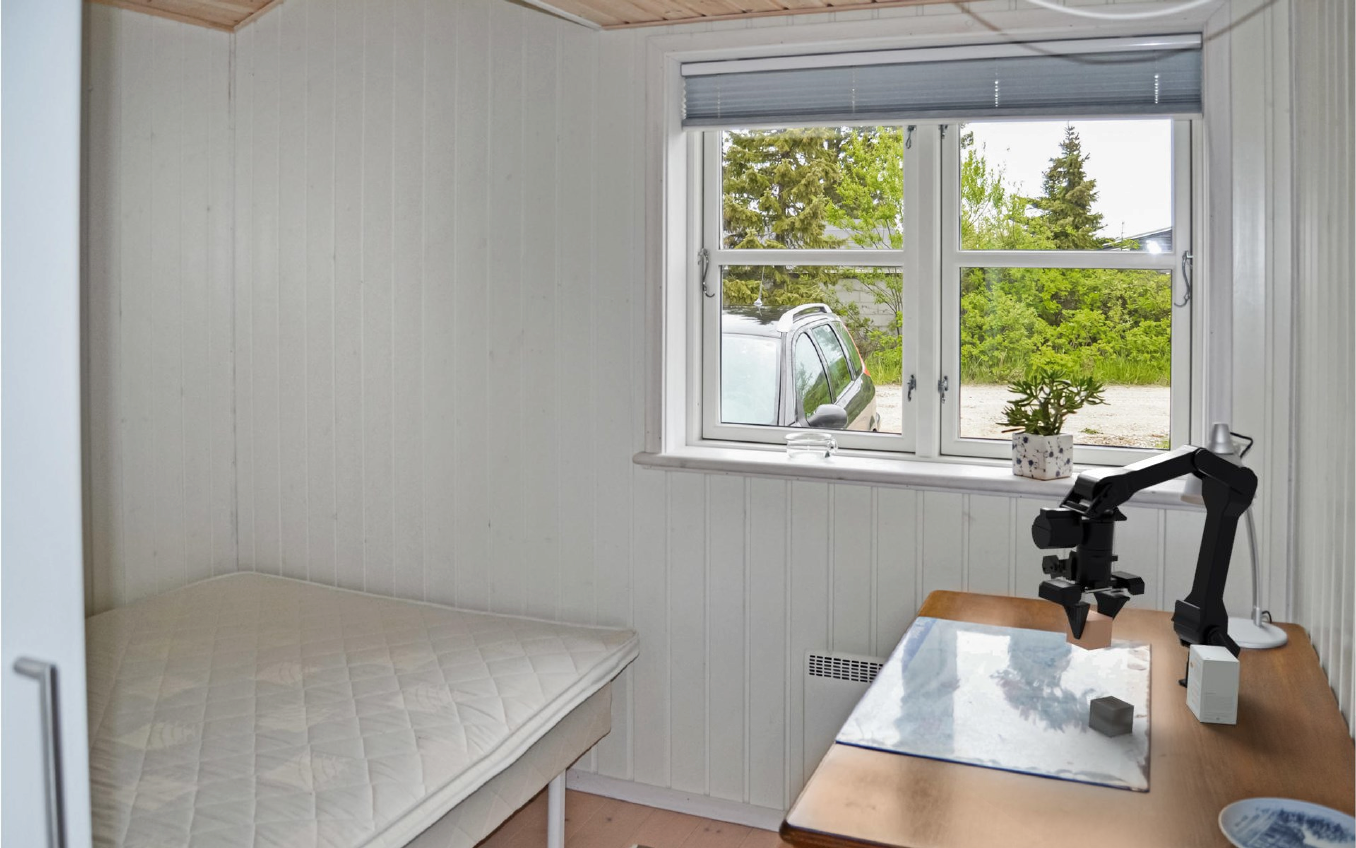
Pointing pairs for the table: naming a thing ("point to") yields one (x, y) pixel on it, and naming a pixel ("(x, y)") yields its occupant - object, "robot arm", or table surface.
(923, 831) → the table surface
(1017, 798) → the table surface
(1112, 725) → the charcoal block
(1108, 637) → the terracotta block
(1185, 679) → the robot arm
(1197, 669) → the small box
